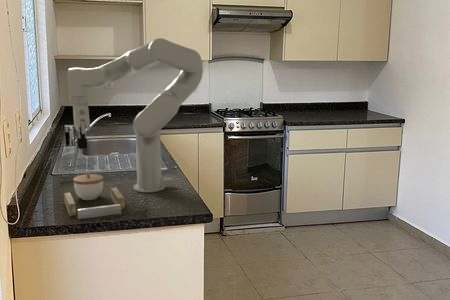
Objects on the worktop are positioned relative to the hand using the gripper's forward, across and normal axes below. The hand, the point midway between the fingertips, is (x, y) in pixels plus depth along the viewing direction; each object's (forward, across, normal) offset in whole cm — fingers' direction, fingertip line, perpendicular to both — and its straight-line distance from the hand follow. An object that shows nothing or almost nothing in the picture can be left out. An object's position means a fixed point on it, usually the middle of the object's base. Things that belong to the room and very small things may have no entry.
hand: (82, 147), depth 190 cm
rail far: (+17, -22, +8) cm, 29 cm away
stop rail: (+17, -34, 0) cm, 38 cm away
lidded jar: (+17, -12, 0) cm, 21 cm away
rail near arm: (+17, -22, -8) cm, 29 cm away
